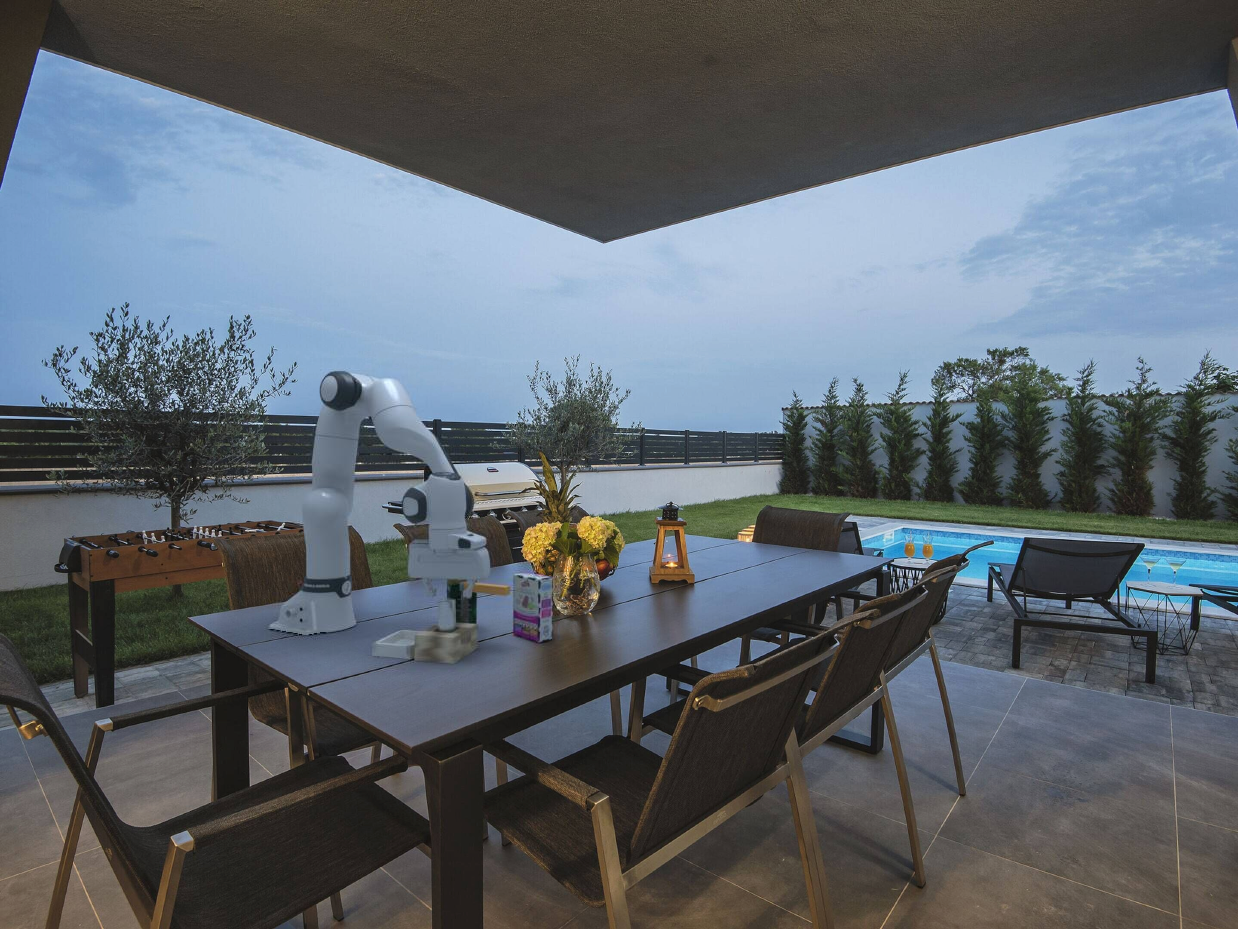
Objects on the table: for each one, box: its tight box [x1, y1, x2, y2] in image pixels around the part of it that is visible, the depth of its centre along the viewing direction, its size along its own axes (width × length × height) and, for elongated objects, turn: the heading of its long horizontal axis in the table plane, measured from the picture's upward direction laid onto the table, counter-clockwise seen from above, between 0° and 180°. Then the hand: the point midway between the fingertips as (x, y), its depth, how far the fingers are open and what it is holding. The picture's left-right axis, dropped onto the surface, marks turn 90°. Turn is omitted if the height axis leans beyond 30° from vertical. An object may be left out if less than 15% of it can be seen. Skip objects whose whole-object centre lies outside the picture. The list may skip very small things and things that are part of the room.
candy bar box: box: [512, 572, 554, 644], centre depth 161 cm, size 11×5×16 cm, turn 47°
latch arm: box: [460, 582, 511, 597], centre depth 153 cm, size 2×14×2 cm, turn 67°
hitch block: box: [414, 591, 478, 665], centre depth 149 cm, size 10×17×13 cm, turn 167°
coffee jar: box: [446, 579, 478, 625], centre depth 167 cm, size 10×8×19 cm
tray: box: [371, 629, 422, 660], centre depth 150 cm, size 10×12×3 cm
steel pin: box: [437, 597, 456, 633], centre depth 147 cm, size 4×4×13 cm
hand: (449, 597), depth 147 cm, fingers open, 8 cm apart
